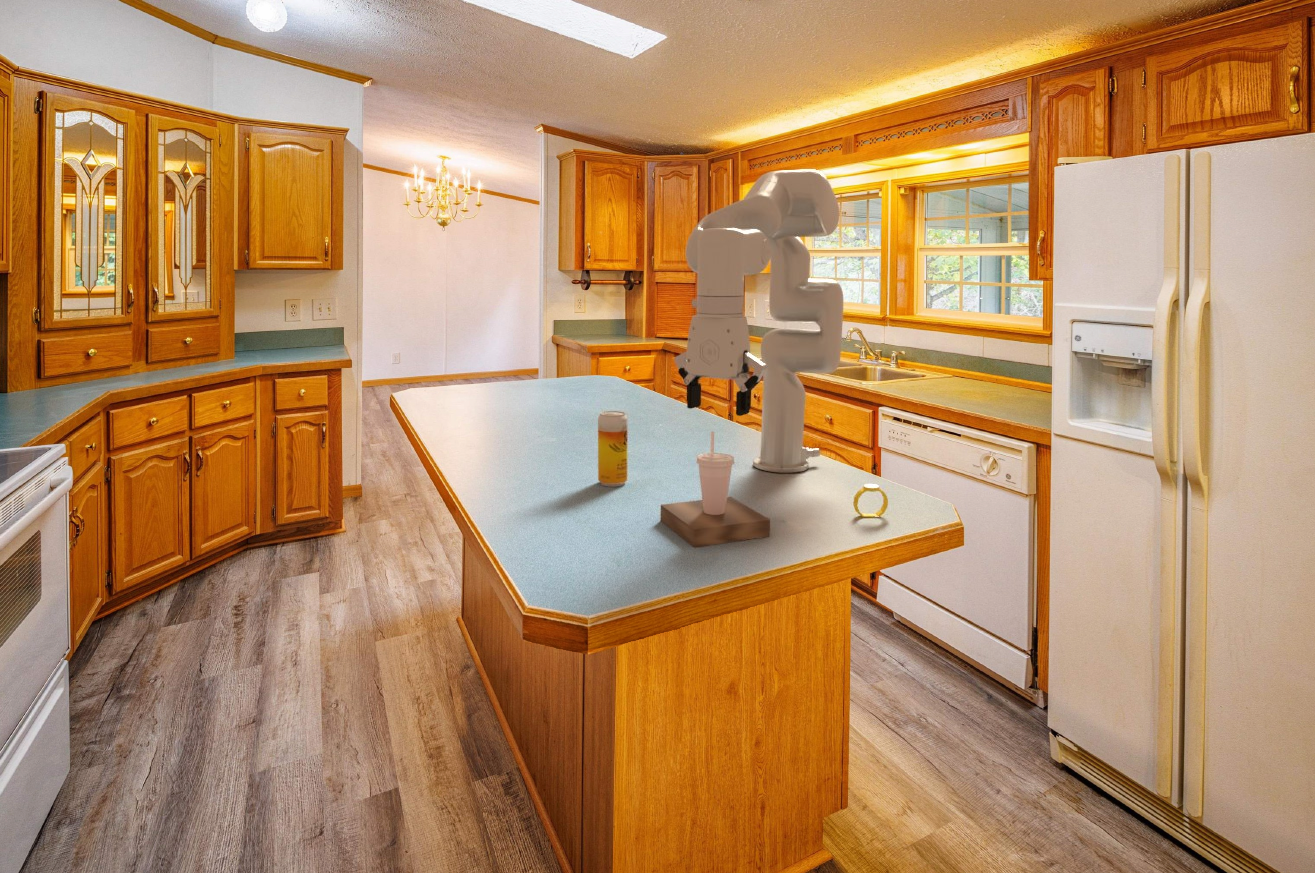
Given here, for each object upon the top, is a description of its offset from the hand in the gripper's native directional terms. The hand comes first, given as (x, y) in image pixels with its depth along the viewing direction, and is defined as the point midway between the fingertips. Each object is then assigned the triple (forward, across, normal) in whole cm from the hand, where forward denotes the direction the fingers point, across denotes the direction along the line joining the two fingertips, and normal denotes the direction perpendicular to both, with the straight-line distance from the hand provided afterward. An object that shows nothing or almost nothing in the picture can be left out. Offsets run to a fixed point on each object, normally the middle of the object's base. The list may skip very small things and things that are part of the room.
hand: (717, 410), depth 122 cm
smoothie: (+18, 0, -1) cm, 18 cm away
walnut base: (+21, 0, -1) cm, 21 cm away
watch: (+21, +19, +23) cm, 37 cm away
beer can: (+21, -32, +10) cm, 39 cm away
